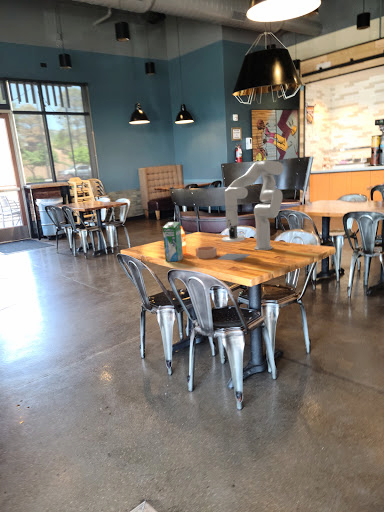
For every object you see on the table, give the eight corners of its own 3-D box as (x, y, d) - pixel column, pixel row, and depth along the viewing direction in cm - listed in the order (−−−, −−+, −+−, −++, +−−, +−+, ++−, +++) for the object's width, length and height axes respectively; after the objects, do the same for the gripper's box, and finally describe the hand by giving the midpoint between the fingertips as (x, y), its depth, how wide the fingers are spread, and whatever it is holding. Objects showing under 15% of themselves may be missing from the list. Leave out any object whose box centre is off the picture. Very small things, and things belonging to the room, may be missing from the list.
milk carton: (165, 261, 254) (162, 223, 249) (171, 258, 263) (168, 221, 257) (177, 261, 251) (174, 223, 246) (183, 258, 259) (180, 221, 254)
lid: (227, 236, 258) (226, 225, 257) (248, 237, 251) (248, 225, 249) (218, 241, 246) (217, 229, 244) (240, 242, 238) (239, 229, 237)
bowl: (202, 254, 267) (201, 246, 265) (219, 255, 260) (218, 246, 259) (193, 258, 256) (192, 249, 255) (210, 259, 250) (210, 250, 248)
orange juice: (175, 252, 280) (173, 225, 276) (186, 252, 276) (184, 225, 272) (170, 254, 273) (168, 227, 269) (181, 255, 269) (179, 227, 265)
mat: (227, 254, 262) (227, 253, 262) (250, 255, 254) (250, 254, 254) (216, 260, 248) (216, 259, 247) (241, 261, 239) (241, 260, 239)
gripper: (231, 206, 253) (233, 233, 257) (220, 210, 238) (222, 239, 243) (241, 206, 249) (243, 233, 253) (231, 210, 235) (233, 239, 239)
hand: (233, 236), depth 248 cm, fingers closed on lid, 4 cm apart
